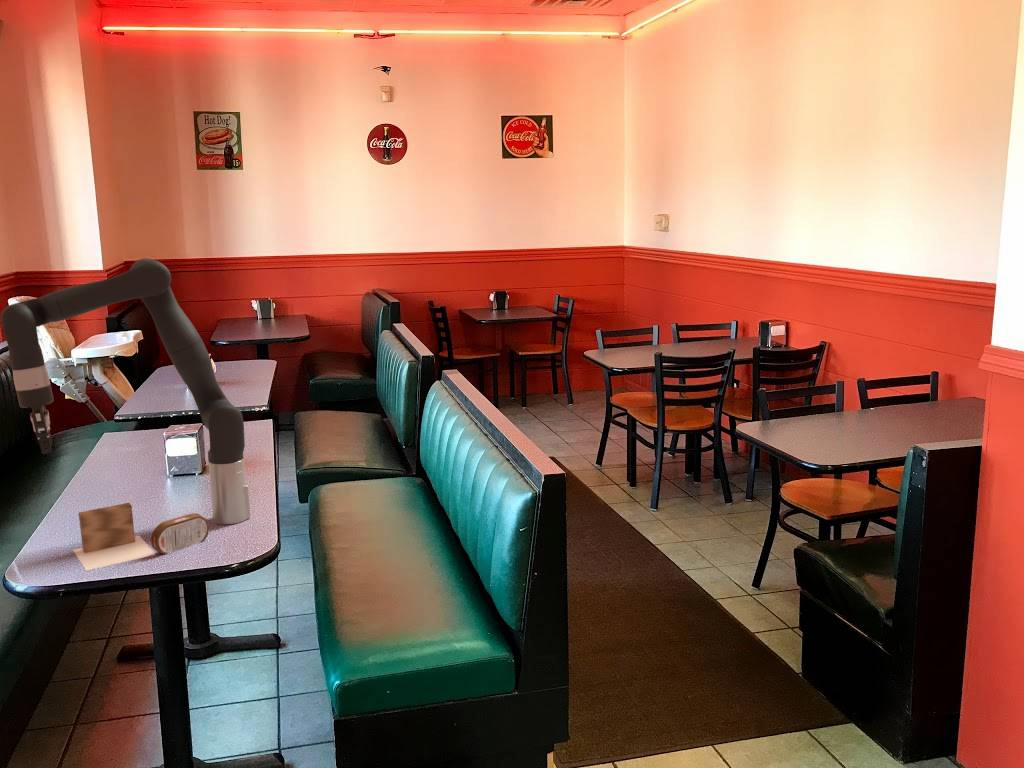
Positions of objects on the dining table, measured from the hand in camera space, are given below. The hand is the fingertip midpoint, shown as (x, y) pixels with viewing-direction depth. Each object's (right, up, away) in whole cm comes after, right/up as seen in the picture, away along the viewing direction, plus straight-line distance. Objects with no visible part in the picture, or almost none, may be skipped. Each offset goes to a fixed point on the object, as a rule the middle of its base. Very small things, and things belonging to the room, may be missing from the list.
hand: (47, 450), depth 219 cm
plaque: (+11, -25, +9) cm, 29 cm away
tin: (+30, -26, +8) cm, 41 cm away
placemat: (+14, -27, +5) cm, 31 cm away
